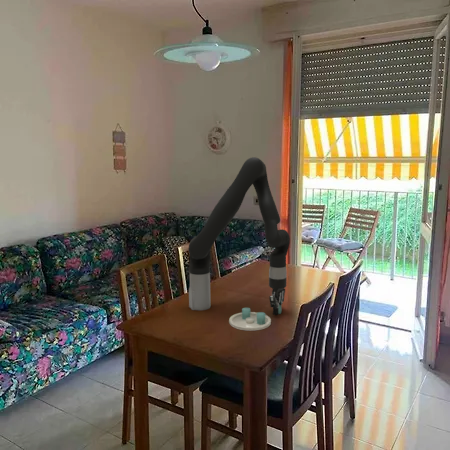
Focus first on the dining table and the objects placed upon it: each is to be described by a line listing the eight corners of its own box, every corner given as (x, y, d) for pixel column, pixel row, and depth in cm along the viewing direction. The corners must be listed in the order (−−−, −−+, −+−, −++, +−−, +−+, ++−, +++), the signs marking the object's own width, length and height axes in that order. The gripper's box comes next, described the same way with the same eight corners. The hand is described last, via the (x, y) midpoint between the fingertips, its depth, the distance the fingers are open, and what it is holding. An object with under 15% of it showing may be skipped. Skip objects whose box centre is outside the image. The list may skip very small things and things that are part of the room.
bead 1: (243, 320, 178) (243, 311, 177) (240, 317, 181) (240, 308, 181) (251, 319, 179) (251, 310, 178) (248, 316, 182) (248, 307, 182)
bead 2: (260, 325, 173) (260, 315, 172) (255, 322, 176) (255, 313, 175) (267, 323, 175) (267, 314, 174) (261, 320, 177) (261, 311, 177)
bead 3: (275, 316, 184) (275, 307, 183) (271, 313, 187) (272, 304, 187) (282, 315, 185) (282, 306, 184) (279, 312, 188) (279, 303, 188)
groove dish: (237, 334, 166) (237, 329, 165) (224, 318, 182) (224, 313, 181) (277, 329, 171) (277, 323, 170) (261, 314, 187) (261, 309, 186)
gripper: (280, 281, 175) (279, 321, 178) (291, 272, 188) (290, 310, 191) (263, 279, 179) (263, 318, 182) (275, 270, 191) (275, 307, 194)
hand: (277, 313), depth 186 cm, fingers closed on bead 3, 3 cm apart
